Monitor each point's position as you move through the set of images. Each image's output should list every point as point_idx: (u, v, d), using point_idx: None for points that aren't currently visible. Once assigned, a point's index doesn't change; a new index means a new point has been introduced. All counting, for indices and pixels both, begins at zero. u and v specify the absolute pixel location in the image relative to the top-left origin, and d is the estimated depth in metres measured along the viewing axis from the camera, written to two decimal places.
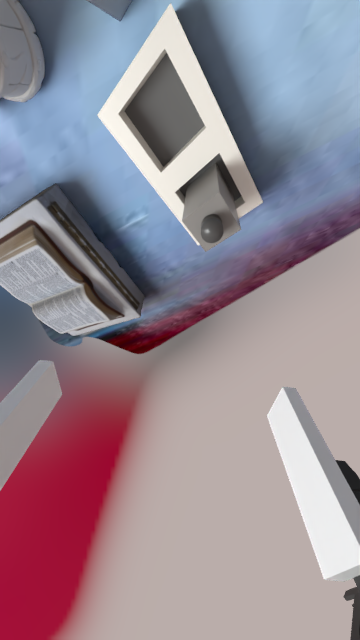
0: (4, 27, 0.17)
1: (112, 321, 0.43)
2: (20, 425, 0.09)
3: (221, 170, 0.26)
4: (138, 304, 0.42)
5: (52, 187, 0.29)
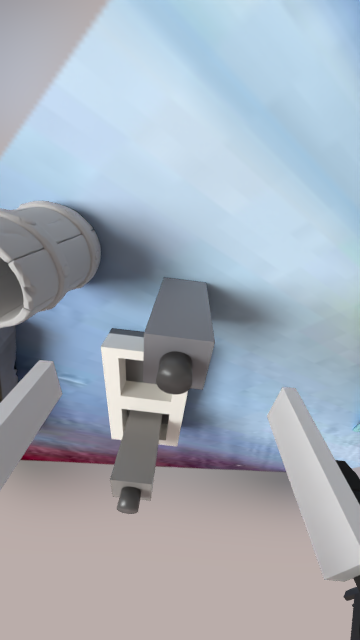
0: (72, 284, 0.17)
1: None
2: (20, 425, 0.09)
3: None
4: None
5: None
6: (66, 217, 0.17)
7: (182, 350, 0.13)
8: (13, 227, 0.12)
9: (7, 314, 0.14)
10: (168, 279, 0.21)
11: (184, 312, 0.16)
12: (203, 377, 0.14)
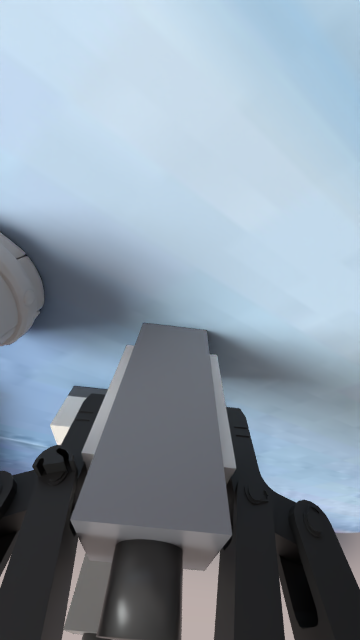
0: None
1: None
2: None
3: None
4: None
5: None
6: None
7: (161, 539, 0.06)
8: None
9: None
10: (150, 327, 0.14)
11: (170, 417, 0.08)
12: (205, 562, 0.07)
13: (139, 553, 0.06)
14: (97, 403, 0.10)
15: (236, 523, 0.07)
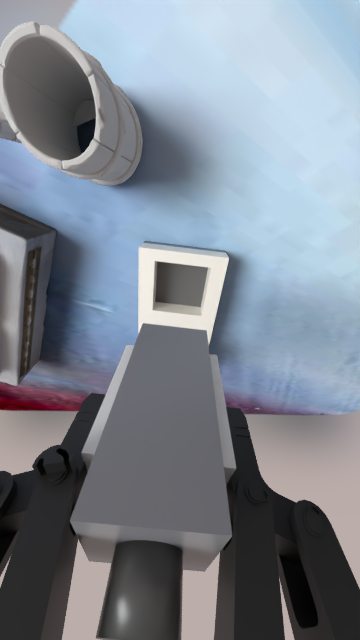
0: (122, 158, 0.18)
1: None
2: None
3: None
4: (26, 371, 0.33)
5: (50, 232, 0.24)
6: (117, 92, 0.17)
7: (160, 540, 0.06)
8: (86, 57, 0.13)
9: None
10: (149, 327, 0.14)
11: (169, 417, 0.08)
12: (205, 563, 0.07)
13: (139, 554, 0.06)
14: (97, 403, 0.10)
15: (236, 523, 0.07)
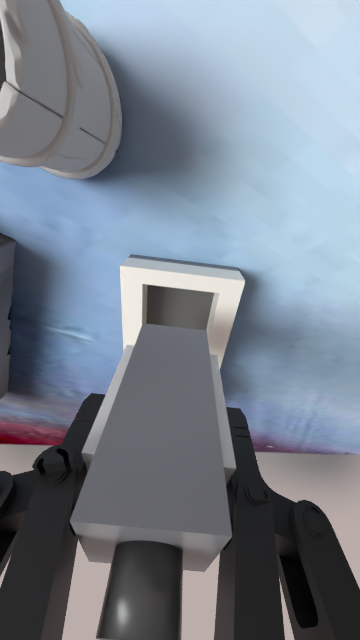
0: (86, 134, 0.11)
1: None
2: None
3: None
4: None
5: (4, 244, 0.18)
6: (77, 29, 0.11)
7: (160, 540, 0.06)
8: None
9: None
10: (149, 327, 0.14)
11: (169, 417, 0.08)
12: (205, 563, 0.07)
13: (139, 554, 0.06)
14: (97, 403, 0.10)
15: (236, 523, 0.07)
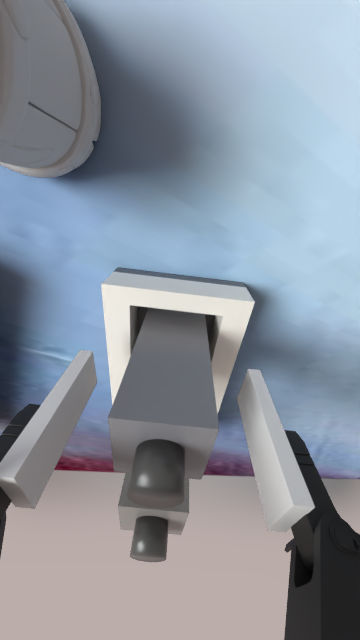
0: (43, 115, 0.08)
1: None
2: (70, 406, 0.10)
3: None
4: None
5: None
6: None
7: (169, 438, 0.09)
8: None
9: None
10: None
11: (174, 365, 0.11)
12: (202, 467, 0.10)
13: (154, 446, 0.08)
14: (33, 415, 0.09)
15: (320, 563, 0.06)
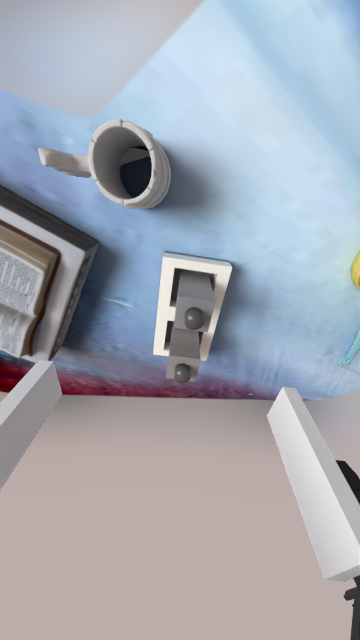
0: None
1: None
2: (20, 425, 0.09)
3: None
4: (54, 354, 0.38)
5: (96, 244, 0.31)
6: None
7: (198, 306, 0.25)
8: (145, 134, 0.19)
9: None
10: (184, 271, 0.32)
11: (197, 288, 0.27)
12: (208, 324, 0.26)
13: (193, 308, 0.24)
14: None
15: None
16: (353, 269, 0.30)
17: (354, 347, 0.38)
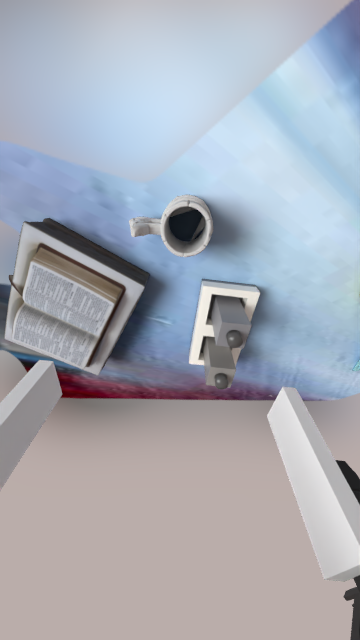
0: None
1: None
2: (20, 425, 0.09)
3: None
4: (104, 365, 0.45)
5: (148, 277, 0.37)
6: None
7: (237, 329, 0.31)
8: (201, 205, 0.26)
9: (185, 251, 0.27)
10: (218, 295, 0.38)
11: (234, 312, 0.33)
12: (244, 342, 0.32)
13: (233, 330, 0.31)
14: None
15: None
16: None
17: None
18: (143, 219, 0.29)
